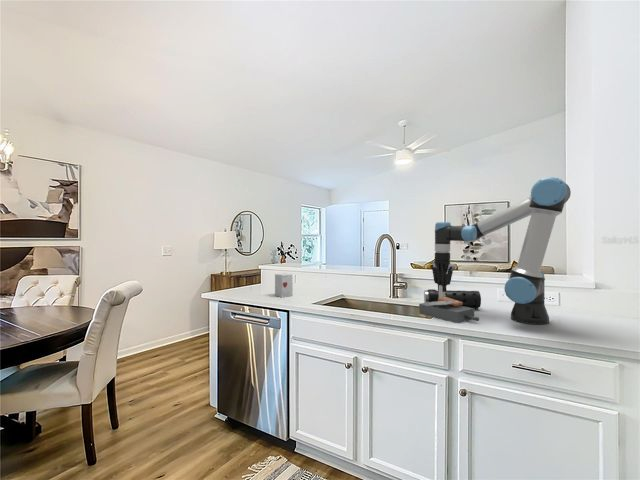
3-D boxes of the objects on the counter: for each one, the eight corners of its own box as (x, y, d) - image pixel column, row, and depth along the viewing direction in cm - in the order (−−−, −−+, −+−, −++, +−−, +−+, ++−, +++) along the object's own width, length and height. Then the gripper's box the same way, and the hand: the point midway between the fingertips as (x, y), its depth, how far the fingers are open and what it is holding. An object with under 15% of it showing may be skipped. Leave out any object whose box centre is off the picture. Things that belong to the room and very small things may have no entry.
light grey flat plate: (454, 303, 156) (453, 300, 157) (446, 304, 153) (445, 301, 153) (437, 303, 165) (436, 301, 165) (429, 305, 161) (428, 302, 162)
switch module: (486, 321, 150) (486, 309, 150) (469, 326, 143) (469, 313, 143) (435, 310, 174) (435, 299, 174) (419, 313, 167) (419, 302, 167)
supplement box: (281, 297, 214) (281, 275, 214) (274, 295, 221) (274, 274, 221) (293, 296, 220) (292, 274, 220) (285, 294, 227) (285, 272, 227)
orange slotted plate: (462, 304, 160) (462, 301, 160) (455, 306, 157) (455, 303, 157) (445, 298, 169) (445, 296, 168) (437, 300, 165) (438, 297, 165)
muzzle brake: (481, 311, 170) (481, 292, 170) (425, 309, 176) (425, 290, 176) (476, 307, 179) (476, 289, 179) (423, 306, 185) (423, 288, 185)
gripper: (458, 252, 162) (458, 299, 163) (436, 251, 174) (435, 294, 174) (449, 253, 158) (448, 301, 159) (427, 251, 170) (426, 296, 170)
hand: (441, 297), depth 167 cm, fingers closed
